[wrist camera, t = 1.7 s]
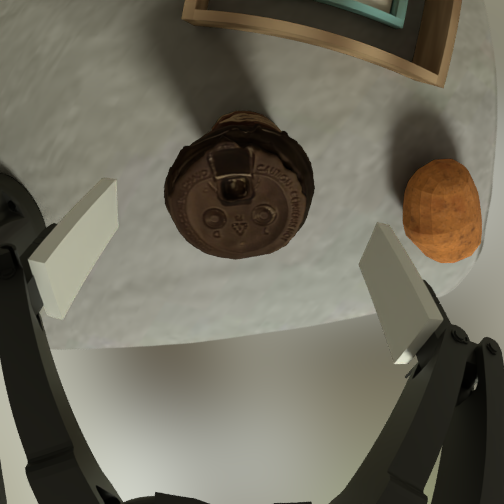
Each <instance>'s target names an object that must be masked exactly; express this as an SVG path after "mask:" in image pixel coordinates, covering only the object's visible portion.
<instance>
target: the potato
mask: <svg viewBox="0 0 504 504" xmlns="http://www.w3.org/2000/svg"><path fill="white" fill-rule="evenodd" d="M403 225H404V229H405V233H406V236H407V237H408V238H409V239H410V240H411V241H412V242H413V243H414V244H415V245H416V246H417V247H418V248H419V249H420V250H421V251H422V252H423V253H424V254H425V255H426V256H427V257H429V258H431V259H433V260H435V261H437V262H440V263H455V262H457V261H459V260H462V259H464V258H467V257H469V256H471V255H472V254H473V253H474V251H475V250H476V249H477V247H478V246H479V245H480V243H481V234H482V219H481V209H480V201H479V195H478V191H477V189H476V186H475V184H474V181H473V179H472V177H471V175H470V173H469V171H468V170H467V168H466V167H465V166H464V165H462V164H460V163H458V162H457V161H455V160H453V159H438V160H433V161H431V162H430V163H428V164H426V165H425V166H423V167H421V168H420V169H418V170H417V171H416V172H415V173H414V175H413V176H412V177H411V178H410V180H409V181H408V184H407V187H406V190H405V192H404V203H403Z"/></svg>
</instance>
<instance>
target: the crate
mask: <svg viewBox="0 0 504 504" xmlns="http://www.w3.org/2000/svg"><path fill="white" fill-rule="evenodd" d="M313 1H317V2H321V3H324V4H328V5H331V6H334V7H338V8H341V9H344V10H347V11H350V12H353V13H356V14H359V15H362V16H365V17H367V18H370V19H373V20H375V21H378V22H380V23H383V24H385V25H388V26H390V27H392V28H395V29H398V28H403V24H404V19H405V14H406V9H407V4H408V0H393V2H392V0H313ZM208 3H209V0H185V3H184V8H183V13H182V18H181V19H183V20H185V21H186V22H188V23H190V24H192V25H194V26H205V27H216V28H225V29H234V30H241V31H248V32H254V33H260V34H266V35H272V36H277V37H282V38H287V39H291V40H296V41H300V42H304V43H308V44H312V45H316V46H320V47H323V48H327V49H331V50H334V51H337V52H341V53H344V54H347V55H350V56H353V57H356V58H359V59H362V60H365V61H368V62H371V63H373V64H376V65H379V66H381V67H384V68H387V69H389V70H392V71H394V72H397V73H399V74H401V75H404V76H406V77H408V78H411V79H413V80H415V81H419V82H423V83H427V84H431V85H434V86H438V87H441V88H444V84H445V81H446V77H447V73H448V69H449V65H450V61H451V56H452V52H453V47H454V43H455V38H456V33H457V27H458V22H459V16H460V10H461V3H462V0H425V5H424V10H423V15H422V20H421V25H420V30H419V35H418V39H417V44H416V48H415V52H414V56H413V60H412V63H411V62H409V61H407V60H405V59H402V58H400V57H398V56H395V55H393V54H391V53H388V52H386V51H383V50H380V49H378V48H375V47H373V46H370V45H367V44H364V43H362V42H359V41H356V40H353V39H350V38H347V37H344V36H340V35H337V34H334V33H330V32H327V31H323V30H320V29H316V28H312V27H308V26H304V25H300V24H296V23H291V22H286V21H282V20H277V19H271V18H266V17H260V16H254V15H247V14H240V13H232V12H223V11H212V10H207V8H208ZM391 3H392V7H391ZM390 8H391V12H390ZM389 12H390V14H389Z"/></svg>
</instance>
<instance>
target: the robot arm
mask: <svg viewBox="0 0 504 504" xmlns="http://www.w3.org/2000/svg"><path fill="white" fill-rule="evenodd" d="M118 227H119V225H118V207H117V179H110V178H102V179H101V180H100V181H99V182H98V183H97V184H96V185H95V186H94V187H93V188H92V189H91V190H90V191H89V192H88V193H87V194H86V195H85V196H84V197H83V198H82V199H81V200H80V201H79V202H78V203H77V204H76V205H75V206H74V207H73V208H72V209H71V210H70V211H69V213H68V214H67V215H66V216H65V217H64V218H63V219H62V220H61V221H60V222H59V223H58V224H55V223H53V224H51V225H50V226H48V227H45V223H44V220H43V218H42V215H41V213H40V211H39V209H38V207H37V205H36V203H35V202H34V200H33V199H32V197H31V196H30V195H29V193H28V192H27V191H26V190H25V189H24V188H23V187H22V186H21V185H20V184H19V183H18V182H17V181H15V180H14V179H13V178H11V177H9V176H7V175H5V174H2V173H0V360H1V365H2V371H3V376H4V381H5V385H6V390H7V394H8V398H9V402H10V406H11V410H12V413H13V417H14V420H15V424H16V427H17V430H18V433H19V436H20V439H21V442H22V445H23V448H24V451H25V454H26V456H27V460H28V464H27V466H26V467H25V470H26V475H27V478H28V481H29V484H30V486H31V488H32V490H33V493H34V495H35V497H36V499H37V501H38V503H39V504H209V503H206V502H203V501H200V500H197V499H194V498H188V497H181V496H175V495H169V494H164V493H158V492H155V496H147V497H139V498H135V499H131V500H128V501H126V502H123V501H122V500H121V498H120V497H119V495H118V494H117V492H116V490H115V489H114V487H113V486H112V484H111V483H110V481H109V480H108V479H107V477H106V476H105V475H104V473H103V472H102V470H101V468H100V467H99V465H98V463H97V461H96V459H95V458H94V456H93V454H92V452H91V450H90V448H89V446H88V444H87V442H86V440H85V438H84V436H83V434H82V432H81V429H80V428H79V425H78V423H77V421H76V418H75V416H74V414H73V411H72V409H71V407H70V405H69V402H68V400H67V397H66V394H65V392H64V389H63V386H62V384H61V381H60V378H59V375H58V372H57V369H56V367H55V363H54V360H53V357H52V354H51V351H50V348H49V344H48V341H47V337H46V334H45V330H44V326H43V322H42V318H41V316H40V313H39V311H40V310H41V308H42V306H44V308H45V311H46V313H47V316H51V317H54V318H58V319H61V320H63V319H64V317H65V315H66V313H67V311H68V310H69V308H70V306H71V304H72V302H73V300H74V299H75V297H76V295H77V293H78V292H79V290H80V288H81V286H82V285H83V283H84V281H85V279H86V278H87V276H88V274H89V273H90V271H91V269H92V268H93V266H94V264H95V263H96V261H97V260H98V258H99V256H100V255H101V253H102V252H103V250H104V249H105V247H106V245H107V244H108V242H109V241H110V239H111V238H112V236H113V235H114V233H115V232H116V230H117V229H118ZM359 267H360V269H361V272H362V274H363V277H364V280H365V282H366V285H367V287H368V290H369V293H370V295H371V298H372V301H373V303H374V306H375V309H376V312H377V315H378V317H379V320H380V323H381V326H382V329H383V331H384V335H385V338H386V341H387V344H388V347H389V350H390V353H391V356H392V359H393V362H394V364H408V363H409V362H410V361H411V360H412V359H413V358H414V356H415V355H416V356H417V359H418V363H417V364H416V365H415V366H414V367H413V368H412V369H411V370H410V371H409V373H408V374H407V375H406V376H405V378H407V377H408V376H410V377H409V379H408V381H407V383H406V385H405V387H404V390H403V392H402V394H401V396H400V398H399V400H398V402H397V404H396V405H395V408H394V409H393V411H392V413H391V415H390V417H389V419H388V421H387V422H386V424H385V426H384V428H383V430H382V431H381V433H380V435H379V437H378V438H377V440H376V442H375V443H374V445H373V447H372V448H371V450H370V452H369V453H368V455H367V457H366V458H365V460H364V461H363V463H362V464H361V466H360V467H359V469H358V470H357V472H356V473H355V475H354V476H353V478H352V479H351V481H350V482H349V483H348V485H347V486H346V488H345V489H344V490H343V491H342V492H341V493H340V494H339V495H338V496H337V497H336V498H334V499H333V500H332V501H331V502H330V503H329V504H427V502H428V498H427V496H426V495H425V494H424V493H423V490H424V487H425V485H426V483H427V480H428V478H429V476H430V474H431V472H432V469H433V467H434V465H435V462H436V460H437V457H438V455H439V452H440V449H441V447H442V451H441V458H440V464H439V469H438V474H437V480H436V484H435V489H434V493H433V498H432V502H431V504H504V364H503V357H502V352H501V349H500V347H499V345H498V343H497V342H496V341H495V340H493V339H491V338H489V337H485V338H483V340H482V341H481V342H480V343H479V344H476V343H474V342H471V341H470V340H469V338H468V335H467V334H466V333H465V331H464V330H463V329H461V328H460V327H458V326H456V325H452V324H451V323H450V321H449V319H448V317H447V315H446V313H445V312H444V310H443V307H442V306H441V304H439V303H440V302H439V300H438V298H437V297H436V294H435V293H434V291H433V289H432V287H431V286H430V285H429V284H428V283H427V282H426V281H425V280H422V278H421V276H420V274H419V273H418V271H417V269H416V267H415V266H414V264H413V262H412V261H411V259H410V257H409V256H408V254H407V252H406V251H405V249H404V247H403V246H402V244H401V243H400V241H399V239H398V238H397V236H396V235H395V233H394V231H393V230H392V228H391V227H390V225H387V224H382V223H378V222H377V224H376V226H375V229H374V231H373V233H372V236H371V238H370V240H369V242H368V245H367V247H366V249H365V251H364V254H363V256H362V258H361V260H360V262H359ZM477 382H478V383H477ZM476 383H477V387H476V389H475V390H474V385H475V384H476ZM0 504H7V500H6V495H5V488H4V482H3V476H2V469H1V462H0ZM274 504H312V503H311V502H298V503H274Z"/></svg>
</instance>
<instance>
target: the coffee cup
mask: <svg viewBox="0 0 504 504" xmlns="http://www.w3.org/2000/svg"><path fill="white" fill-rule="evenodd" d="M314 189H315V186H314V179H313V170H312V166H311V162H310V161H309V158H308V157H307V154H306V153H305V151H304V150H303V148H302V147H301V146H300V145H299V144H298V142H297V141H296V140H294V139H292V138H290V137H289V136H288V134H287V132H285V131H281V130H280V129H279V128H278V127H277V126H276V125H275V124H274V123H273V122H271V121H270V120H269V119H268V118H267V117H265V116H264V115H262V114H259V113H256V112H251V111H234V112H232V113H229V114H226V115H223V116H221V117H220V118H219V119H218V121H217V123H216V124H215V125H214V126H213V127H212V129H211V131H210V132H209V133H207V134H206V135H204V136H203V137H201V138H200V139H198V140H196V141H195V142H193V143H192V144H191V145H190V146H184V147H183V149H182V150H180V152H179V155H178V156H177V158H176V160H175V162H174V163H173V165H172V167H170V169H169V172H168V175H167V177H166V181H165V185H164V198H165V205H166V208H167V210H168V212H169V213H170V215H171V218H172V220H173V222H174V223H175V225H176V227H177V229H178V231H179V232H180V234H181V235H182V236H183V237H184V238H185V239H186V241H187V242H189V243H190V244H191V245H193V246H194V247H196V248H197V249H199V250H201V251H202V252H204V253H206V254H209V255H213V256H217V257H221V258H229V259H242V258H248V257H254V256H260V255H265V254H271V253H273V252H275V251H277V250H279V249H281V248H282V247H284V246H286V245H287V244H288V243H289V241H290V240H291V239H292V238H293V237H294V236H295V234H296V233H297V232H298V231H299V230H300V228H301V227H302V226H303V224H304V222H305V220H306V218H307V215H308V211H309V208H310V205H311V202H312V197H313V194H314Z"/></svg>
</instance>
